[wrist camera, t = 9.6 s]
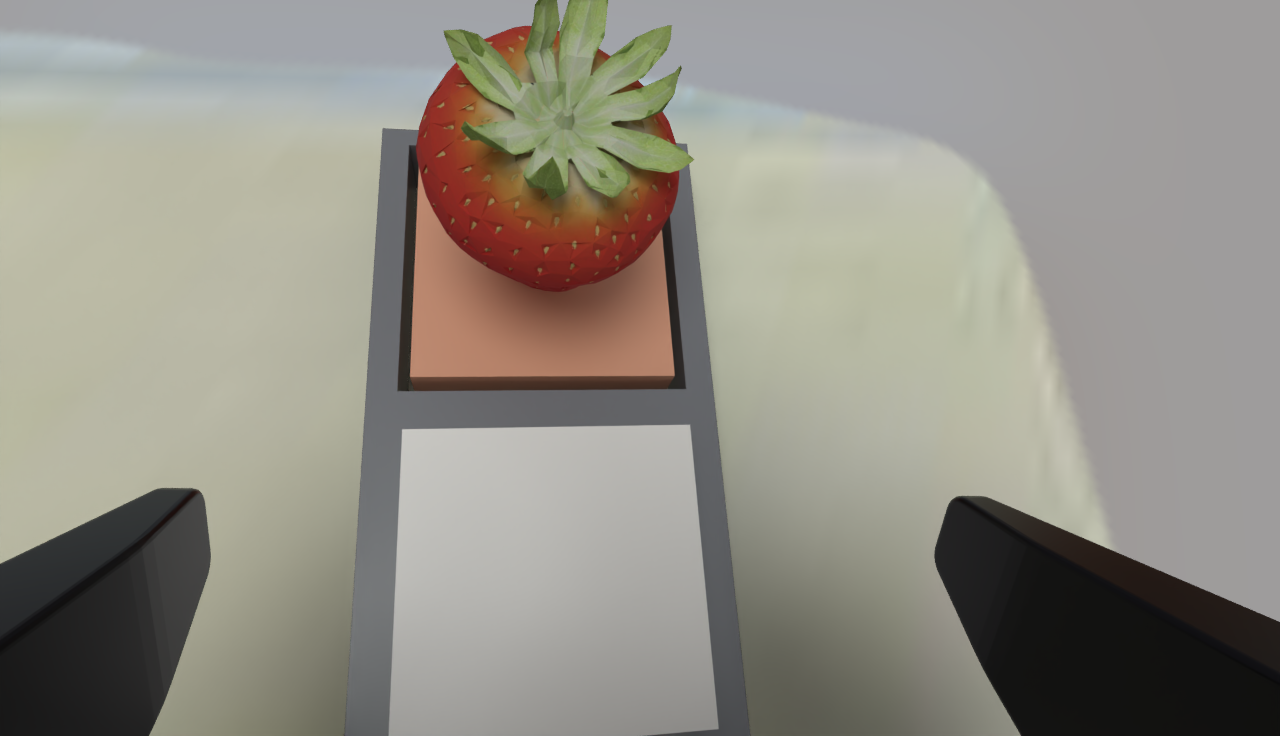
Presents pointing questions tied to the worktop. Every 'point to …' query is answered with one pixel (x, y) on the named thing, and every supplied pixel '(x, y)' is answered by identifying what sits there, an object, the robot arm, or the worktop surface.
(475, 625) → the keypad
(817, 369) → the worktop surface
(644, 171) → the fruit
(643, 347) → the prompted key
